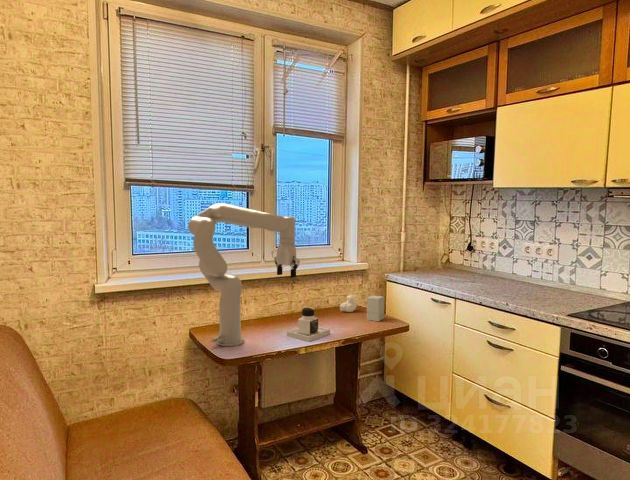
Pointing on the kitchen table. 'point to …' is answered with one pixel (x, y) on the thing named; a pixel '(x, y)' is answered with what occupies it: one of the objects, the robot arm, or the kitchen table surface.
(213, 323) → the kitchen table surface
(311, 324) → the medicine bottle
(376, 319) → the supplement box
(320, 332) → the tray
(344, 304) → the bust
